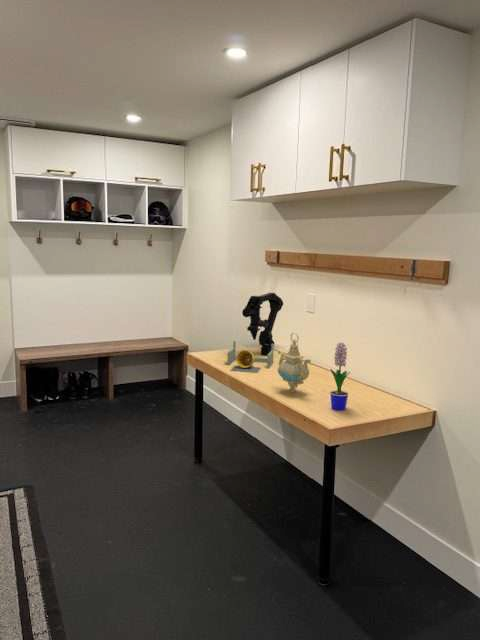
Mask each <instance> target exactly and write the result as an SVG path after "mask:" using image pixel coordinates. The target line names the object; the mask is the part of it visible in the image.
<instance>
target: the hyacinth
mask: <svg viewBox="0 0 480 640" xmlns="http://www.w3.org/2000/svg"><path fill="white" fill-rule="evenodd" d="M347 348H348V347H347V345H346V344H345V343H344V342H338V343H337V344H336V347H335V349H334V350H335V351H334V366H336V367H339V368H338V369H336V372H335V371H334V370H333V369H332V368H330V372H331V374H332V376H333V379H334V381H335V385H336V387H337V388H336V389H335V390H331V391H330V392H329V394H330V395H329V396H330V407H331V409H332V410H334V411H340V410H341V411H345V410H346V408H347V403H348V396H349V392H348V391H345V390H342V387H343V384H344V382H345V379H346V378H347V377H348V376H349V375H350V373H351V371H349V372H348V371H347V370H344V371H343V372H342V371H341V370H342V369H341V368H342V367H344V368H346V365H347V362H346V361H347V359H348V358H347V356H348V355H347V353H348V351H347ZM341 372H342V373H341Z"/></svg>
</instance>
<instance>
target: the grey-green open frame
mask: <svg viewBox="0 0 480 640" xmlns="http://www.w3.org/2000/svg"><path fill="white" fill-rule="evenodd" d="M232 343H233V344H232V346H233V347H232V348H231V349H230V350H228V352H227V366H231V365H232V364H233V363H234V362H235V361H236V362H237V360H236V358H237V355H236V341H235V340H234V341H232ZM274 346H275V343H274V344H272V345H271V351H270V353H269V354H268V355H266V356H267V358H265V357H254V363H263V364H264V363H266V364H267V365H266V369H270V368H271V367H272V365H273V364H274V348H275V347H274ZM247 360H248V361H249V359H247Z"/></svg>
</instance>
